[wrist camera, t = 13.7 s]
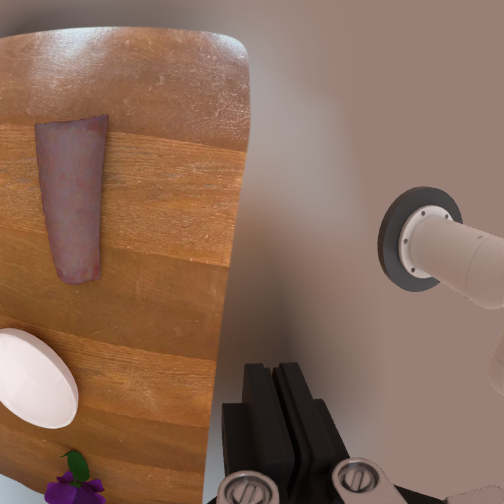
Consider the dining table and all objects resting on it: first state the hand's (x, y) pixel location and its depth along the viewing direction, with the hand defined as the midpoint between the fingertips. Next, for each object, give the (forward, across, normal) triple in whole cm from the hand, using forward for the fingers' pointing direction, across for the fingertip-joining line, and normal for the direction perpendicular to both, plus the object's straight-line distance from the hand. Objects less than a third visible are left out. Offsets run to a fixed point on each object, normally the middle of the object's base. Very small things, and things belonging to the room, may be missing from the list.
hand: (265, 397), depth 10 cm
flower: (+33, +32, +56) cm, 73 cm away
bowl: (+33, +32, +26) cm, 53 cm away
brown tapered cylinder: (+33, +20, -2) cm, 39 cm away
